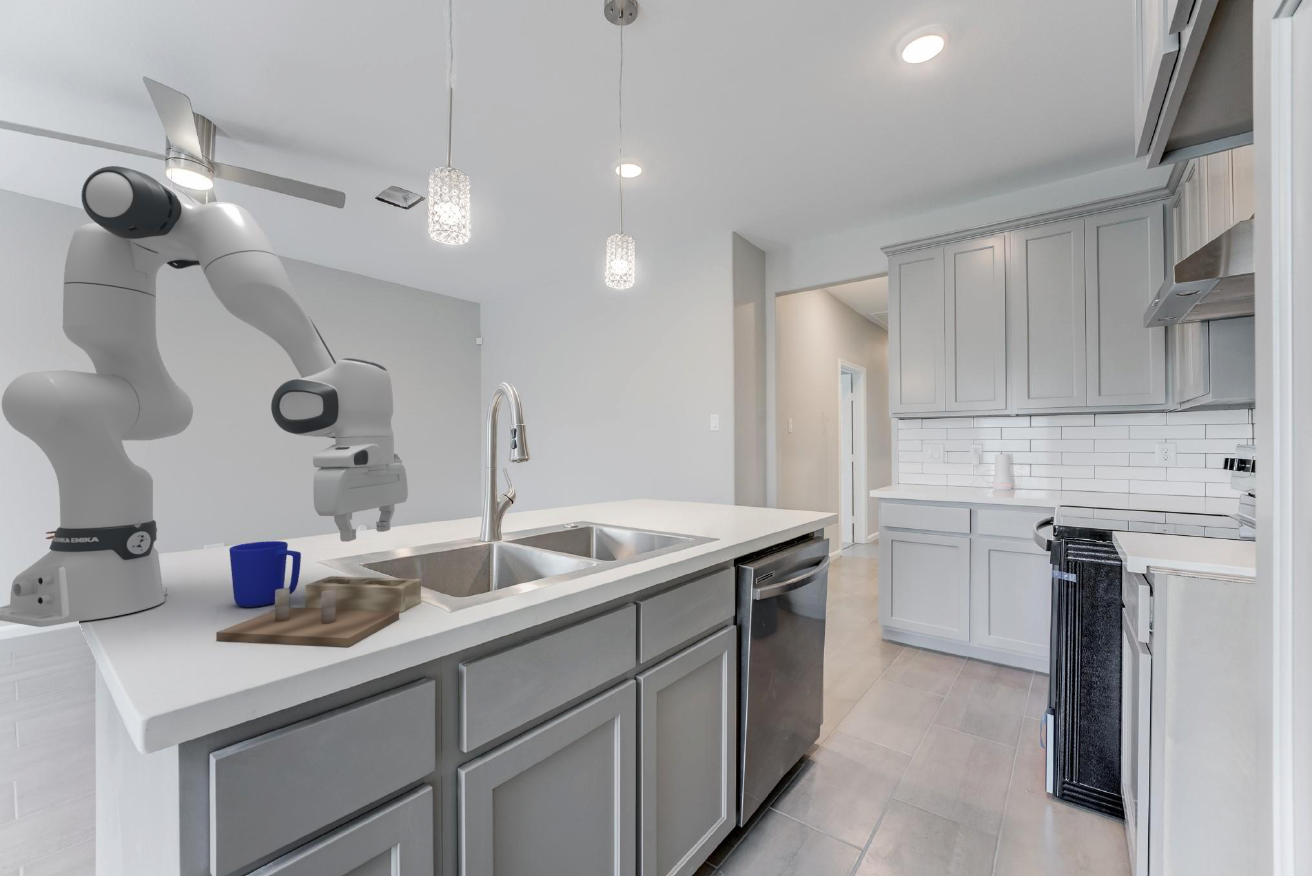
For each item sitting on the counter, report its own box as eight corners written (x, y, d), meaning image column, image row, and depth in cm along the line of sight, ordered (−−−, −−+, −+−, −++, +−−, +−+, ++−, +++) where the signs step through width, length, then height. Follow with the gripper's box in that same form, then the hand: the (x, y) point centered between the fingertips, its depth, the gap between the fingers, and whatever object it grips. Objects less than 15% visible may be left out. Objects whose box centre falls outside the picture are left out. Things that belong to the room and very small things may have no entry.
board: (216, 640, 79) (216, 600, 79) (283, 614, 90) (283, 579, 90) (348, 647, 76) (348, 605, 76) (399, 619, 88) (399, 582, 88)
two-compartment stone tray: (305, 609, 93) (305, 585, 93) (330, 598, 99) (330, 576, 99) (401, 612, 91) (401, 588, 91) (420, 602, 97) (420, 579, 97)
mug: (277, 613, 91) (277, 551, 91) (216, 608, 93) (216, 549, 93) (317, 599, 99) (317, 542, 99) (260, 595, 101) (260, 540, 101)
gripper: (384, 453, 106) (385, 526, 106) (304, 456, 86) (306, 547, 86) (416, 452, 105) (417, 526, 105) (342, 456, 85) (344, 547, 85)
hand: (366, 535), depth 95 cm, fingers open, 8 cm apart
